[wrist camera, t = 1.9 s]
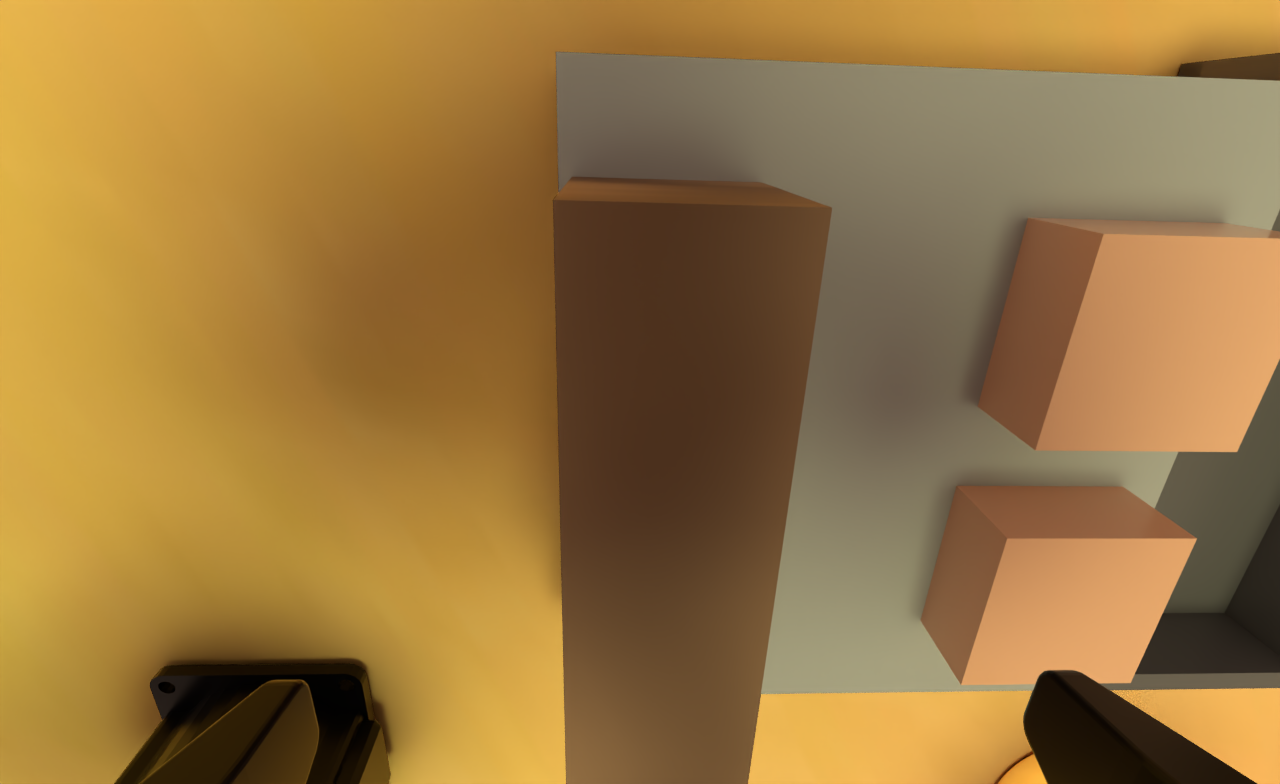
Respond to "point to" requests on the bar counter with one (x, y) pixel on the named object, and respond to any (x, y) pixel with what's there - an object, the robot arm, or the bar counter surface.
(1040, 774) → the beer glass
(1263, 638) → the tray
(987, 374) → the tile
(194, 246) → the bar counter surface
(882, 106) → the board
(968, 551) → the tile
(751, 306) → the brown wooden plank
